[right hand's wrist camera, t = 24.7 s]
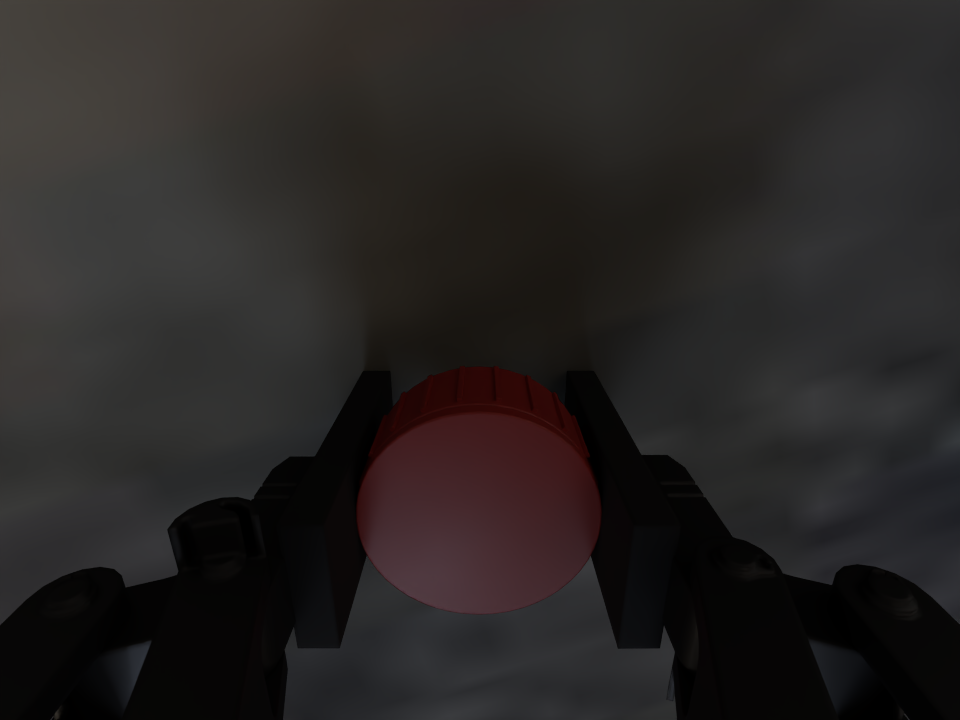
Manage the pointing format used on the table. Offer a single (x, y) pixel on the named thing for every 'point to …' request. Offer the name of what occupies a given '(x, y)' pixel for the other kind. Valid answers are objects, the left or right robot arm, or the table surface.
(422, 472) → the lid
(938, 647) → the right robot arm
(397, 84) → the table surface
